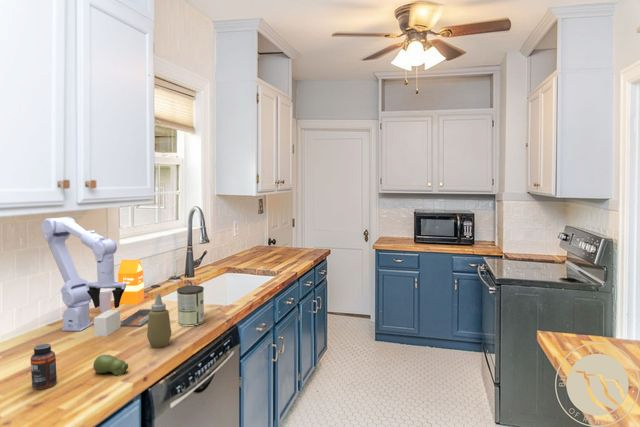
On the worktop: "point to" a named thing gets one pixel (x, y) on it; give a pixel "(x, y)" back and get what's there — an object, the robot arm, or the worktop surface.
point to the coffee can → (190, 305)
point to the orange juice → (131, 281)
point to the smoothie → (105, 299)
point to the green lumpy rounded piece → (109, 365)
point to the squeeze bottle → (158, 324)
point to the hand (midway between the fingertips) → (107, 307)
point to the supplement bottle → (43, 367)
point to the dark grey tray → (136, 318)
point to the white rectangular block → (106, 323)
